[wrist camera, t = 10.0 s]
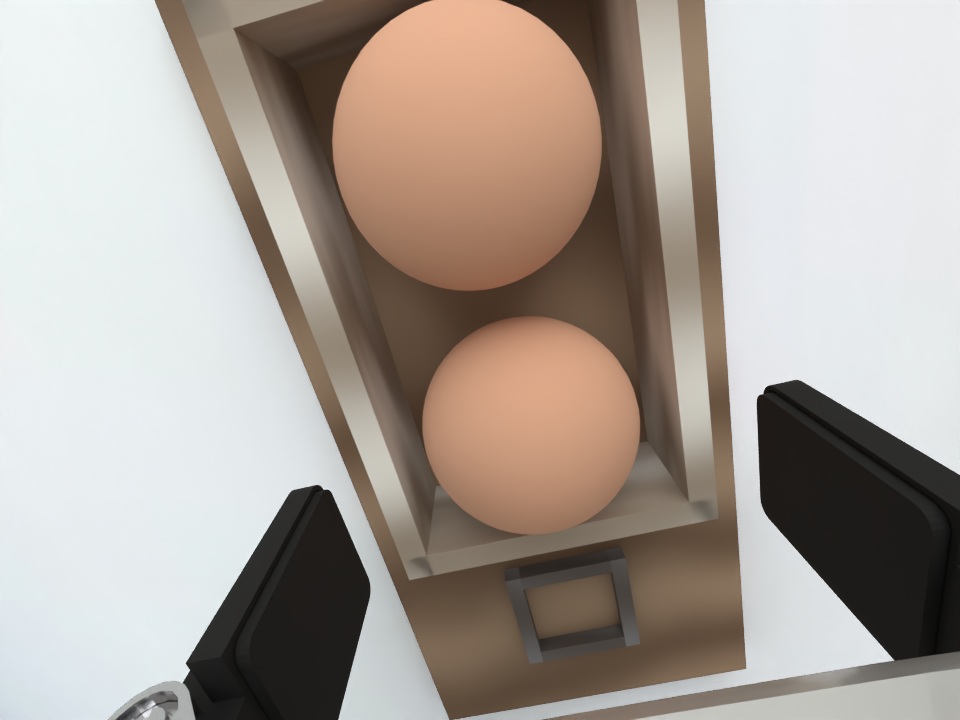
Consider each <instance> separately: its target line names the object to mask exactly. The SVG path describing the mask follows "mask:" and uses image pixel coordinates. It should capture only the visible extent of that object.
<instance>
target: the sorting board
mask: <svg viewBox="0 0 960 720" xmlns="http://www.w3.org/2000/svg"><path fill="white" fill-rule="evenodd" d="M428 1H432V0H155V2H156V5H157V7H158V10H159V12H160V15H161V17H162V20H163V22H164V24H165V27H166V29H167V32H168V34H169V37H170V39H171V41H172V44H173V46H174V49H175V51H176V54H177V56H178V59H179V61H180V63H181V66H182V68H183V71H184V73H185V76H186V78H187V81H188V83H189V85H190V88H191V90H192V93H193V95H194V98H195V100H196V102H197V105H198V107H199V110H200V112H201V115H202V117H203V120H204V122H205V124H206V127H207V129H208V132H209V134H210V137H211V139H212V141H213V144H214V146H215V149H216V151H217V154H218V156H219V159H220V161H221V163H222V166H223V168H224V171H225V173H226V176H227V178H228V181H229V183H230V185H231V188H232V190H233V193H234V195H235V198H236V200H237V202H238V205H239V207H240V210H241V212H242V215H243V217H244V220H245V222H246V224H247V227H248V229H249V232H250V234H251V237H252V239H253V241H254V244H255V246H256V249H257V251H258V254H259V256H260V259H261V261H262V263H263V266H264V268H265V271H266V273H267V276H268V278H269V281H270V283H271V285H272V288H273V290H274V293H275V295H276V298H277V300H278V302H279V305H280V307H281V310H282V312H283V315H284V317H285V320H286V322H287V324H288V327H289V329H290V332H291V334H292V337H293V339H294V342H295V344H296V346H297V349H298V351H299V354H300V356H301V359H302V361H303V363H304V366H305V368H306V371H307V373H308V376H309V378H310V381H311V383H312V385H313V388H314V390H315V393H316V395H317V398H318V400H319V402H320V405H321V407H322V410H323V412H324V415H325V417H326V420H327V422H328V424H329V427H330V429H331V432H332V434H333V437H334V439H335V442H336V444H337V446H338V449H339V451H340V454H341V456H342V459H343V461H344V463H345V466H346V468H347V471H348V473H349V476H350V478H351V481H352V483H353V485H354V488H355V490H356V493H357V495H358V498H359V500H360V503H361V505H362V507H363V510H364V512H365V515H366V517H367V520H368V522H369V524H370V527H371V529H372V532H373V534H374V537H375V539H376V542H377V544H378V546H379V549H380V551H381V554H382V556H383V559H384V561H385V563H386V566H387V568H388V571H389V573H390V576H391V578H392V581H393V583H394V585H395V588H396V590H397V593H398V595H399V598H400V600H401V603H402V605H403V607H404V610H405V612H406V615H407V617H408V620H409V622H410V624H411V627H412V629H413V632H414V634H415V637H416V639H417V642H418V644H419V646H420V649H421V651H422V654H423V656H424V659H425V661H426V664H427V666H428V668H429V671H430V673H431V676H432V678H433V681H434V683H435V685H436V688H437V690H438V693H439V695H440V698H441V700H442V703H443V705H444V707H445V710H446V712H447V715H448V717H449V720H454V719H460V718H465V717H471V716H477V715H483V714H488V713H494V712H500V711H506V710H511V709H517V708H523V707H529V706H534V705H540V704H546V703H552V702H557V701H563V700H569V699H575V698H580V697H586V696H592V695H598V694H603V693H609V692H615V691H621V690H626V689H632V688H638V687H644V686H649V685H655V684H661V683H667V682H672V681H678V680H684V679H690V678H695V677H701V676H707V675H713V674H718V673H724V672H730V671H736V670H741V669H746V658H745V642H744V626H743V610H742V594H741V578H740V562H739V546H738V530H737V514H736V498H735V482H734V466H733V450H732V433H731V417H730V401H729V385H728V369H727V353H726V337H725V321H724V305H723V289H722V273H721V257H720V241H719V225H718V209H717V193H716V177H715V161H714V145H713V129H712V113H711V97H710V81H709V65H708V49H707V33H706V17H705V1H704V0H500V1H504V2H506V3H509V4H511V5H514V6H516V7H519V8H521V9H523V10H525V11H526V12H528V13H530V14H531V15H533V16H535V17H537V18H538V19H539V20H541V21H542V22H543V23H544V24H546V25H547V26H548V27H549V28H551V29H552V30H553V31H554V32H555V33H556V34H557V35H558V36H559V37H560V38H561V39H562V40H563V41H564V43H565V44H566V45H567V46H568V47H569V49H570V50H571V51H572V53H573V54H574V56H575V57H576V58H577V60H578V61H579V63H580V65H581V67H582V69H583V71H584V73H585V74H586V76H587V78H588V81H589V83H590V86H591V89H592V91H593V94H594V97H595V100H596V104H597V109H598V113H599V117H600V126H601V135H602V156H601V164H600V171H599V177H598V181H597V185H596V189H595V193H594V196H593V198H592V201H591V203H590V206H589V209H588V211H587V213H586V215H585V217H584V218H583V220H582V222H581V224H580V226H579V227H578V229H577V230H576V232H575V233H574V235H573V236H572V238H571V239H570V240H569V242H568V243H567V244H566V245H565V246H564V247H563V248H562V249H561V251H560V252H559V253H558V254H557V255H555V256H554V257H553V258H552V259H551V260H550V261H549V262H547V263H546V264H545V265H544V266H542V267H541V268H539V269H538V270H536V271H535V272H533V273H532V274H530V275H528V276H526V277H524V278H522V279H520V280H518V281H515V282H513V283H510V284H507V285H504V286H501V287H496V288H492V289H487V290H476V291H462V290H451V289H445V288H440V287H436V286H433V285H430V284H427V283H424V282H421V281H419V280H417V279H415V278H413V277H410V276H408V275H407V274H405V273H404V272H402V271H400V270H399V269H397V268H396V267H394V266H393V265H392V264H390V263H389V262H388V261H387V260H385V259H384V258H383V257H382V256H381V255H380V254H379V253H378V252H377V251H376V250H375V249H374V248H373V247H372V246H371V245H370V244H369V243H368V241H367V240H366V239H365V237H364V236H363V235H362V233H361V232H360V231H359V229H358V228H357V226H356V224H355V223H354V221H353V219H352V218H351V216H350V214H349V212H348V210H347V207H346V205H345V203H344V200H343V198H342V195H341V192H340V189H339V185H338V182H337V178H336V172H335V167H334V161H333V145H332V138H333V122H334V117H335V111H336V106H337V101H338V98H339V95H340V92H341V89H342V86H343V83H344V81H345V79H346V77H347V74H348V72H349V70H350V68H351V66H352V64H353V63H354V61H355V60H356V58H357V57H358V55H359V53H360V52H361V50H362V49H363V48H364V46H365V45H366V44H367V43H368V42H369V41H370V40H371V38H372V37H373V36H374V35H375V34H376V33H377V32H378V31H379V30H380V29H382V28H383V27H384V26H385V25H386V24H387V23H389V22H390V21H391V20H392V19H394V18H396V17H397V16H399V15H400V14H402V13H404V12H405V11H407V10H409V9H411V8H413V7H416V6H418V5H420V4H423V3H425V2H428ZM521 316H539V317H546V318H552V319H556V320H560V321H563V322H566V323H569V324H572V325H574V326H576V327H578V328H580V329H582V330H584V331H586V332H587V333H589V334H590V335H592V336H593V337H595V338H596V339H597V340H598V341H599V342H601V343H602V344H603V345H604V346H605V347H606V348H607V349H608V350H610V352H611V353H612V354H613V355H614V356H615V357H616V359H617V360H618V361H619V363H620V364H621V366H622V368H623V369H624V371H625V372H626V374H627V376H628V377H629V380H630V382H631V384H632V387H633V389H634V393H635V396H636V400H637V404H638V408H639V416H640V439H639V446H638V451H637V455H636V458H635V461H634V464H633V467H632V470H631V472H630V474H629V476H628V478H627V480H626V482H625V483H624V485H623V486H622V488H621V489H620V490H619V492H618V493H617V495H616V496H615V497H614V498H613V499H612V500H611V502H610V503H609V504H608V505H607V506H606V507H604V508H603V509H602V510H601V511H600V512H598V513H597V514H596V515H594V516H593V517H591V518H590V519H588V520H586V521H584V522H582V523H581V524H578V525H576V526H574V527H571V528H569V529H566V530H562V531H559V532H554V533H549V534H538V535H531V534H517V533H511V532H507V531H503V530H499V529H496V528H494V527H491V526H489V525H487V524H485V523H483V522H481V521H479V520H477V519H476V518H474V517H473V516H471V515H470V514H468V513H467V512H465V511H464V510H463V509H462V508H461V507H459V506H458V505H457V504H456V503H455V502H454V501H453V500H452V498H451V497H450V496H449V495H448V494H447V493H446V491H445V490H444V489H443V488H442V486H441V484H440V483H439V481H438V480H437V478H436V476H435V474H434V472H433V470H432V467H431V465H430V463H429V460H428V457H427V454H426V450H425V445H424V439H423V431H422V418H423V409H424V402H425V397H426V394H427V391H428V388H429V385H430V383H431V380H432V378H433V376H434V374H435V372H436V370H437V368H438V367H439V365H440V364H441V362H442V361H443V359H444V358H445V357H446V356H447V355H448V353H449V352H450V351H451V350H452V349H453V348H454V347H455V346H456V345H457V344H458V343H459V342H460V341H462V340H463V339H464V338H465V337H467V336H468V335H470V334H471V333H473V332H474V331H476V330H477V329H480V328H482V327H484V326H486V325H488V324H490V323H493V322H496V321H499V320H503V319H507V318H512V317H521Z"/></svg>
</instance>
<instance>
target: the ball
mask: <svg viewBox="0 0 960 720" xmlns="http://www.w3.org/2000/svg"><path fill="white" fill-rule="evenodd" d="M332 145H333V161H334V167H335V172H336V178H337V182H338V185H339V189H340V192H341V195H342V198H343V200H344V203H345V205H346V207H347V210H348V212H349V214H350V216H351V218H352V219H353V221H354V223H355V224H356V226H357V228H358V229H359V231H360V232H361V233H362V235H363V236H364V237H365V239H366V240H367V241H368V243H369V244H370V245H371V246H372V247H373V248H374V249H375V250H376V251H377V252H378V253H379V254H380V255H381V256H382V257H383V258H384V259H385V260H387V261H388V262H389V263H390V264H392V265H393V266H394V267H396V268H397V269H399V270H400V271H402V272H404V273H405V274H407V275H408V276H410V277H413V278H415V279H417V280H419V281H421V282H424V283H427V284H430V285H433V286H436V287H440V288H445V289H451V290H462V291H476V290H487V289H492V288H496V287H501V286H504V285H507V284H510V283H513V282H515V281H518V280H520V279H522V278H524V277H526V276H528V275H530V274H532V273H533V272H535V271H536V270H538V269H539V268H541V267H542V266H544V265H545V264H546V263H547V262H549V261H550V260H551V259H552V258H553V257H554V256H555V255H557V254H558V253H559V252H560V251H561V249H562V248H563V247H564V246H565V245H566V244H567V243H568V242H569V240H570V239H571V238H572V236H573V235H574V233H575V232H576V230H577V229H578V227H579V226H580V224H581V222H582V220H583V218H584V217H585V215H586V213H587V211H588V209H589V206H590V203H591V201H592V198H593V196H594V193H595V189H596V185H597V181H598V177H599V171H600V164H601V156H602V135H601V126H600V117H599V113H598V109H597V104H596V100H595V97H594V94H593V91H592V89H591V86H590V83H589V81H588V78H587V76H586V74H585V73H584V71H583V69H582V67H581V65H580V63H579V61H578V60H577V58H576V57H575V56H574V54H573V53H572V51H571V50H570V49H569V47H568V46H567V45H566V44H565V43H564V41H563V40H562V39H561V38H560V37H559V36H558V35H557V34H556V33H555V32H554V31H553V30H552V29H551V28H549V27H548V26H547V25H546V24H544V23H543V22H542V21H541V20H539V19H538V18H537V17H535V16H533V15H531V14H530V13H528V12H526V11H525V10H523V9H521V8H519V7H516V6H514V5H511V4H509V3H506V2H504V1H500V0H432V1H428V2H425V3H423V4H420V5H418V6H416V7H413V8H411V9H409V10H407V11H405V12H404V13H402V14H400V15H399V16H397V17H396V18H394V19H392V20H391V21H390V22H389V23H387V24H386V25H385V26H384V27H383V28H382V29H380V30H379V31H378V32H377V33H376V34H375V35H374V36H373V37H372V38H371V40H370V41H369V42H368V43H367V44H366V45H365V46H364V48H363V49H362V50H361V52H360V53H359V55H358V57H357V58H356V60H355V61H354V63H353V64H352V66H351V68H350V70H349V72H348V74H347V77H346V79H345V81H344V83H343V86H342V89H341V92H340V95H339V98H338V101H337V106H336V111H335V117H334V122H333V138H332Z"/></svg>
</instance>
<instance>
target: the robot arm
mask: <svg viewBox="0 0 960 720" xmlns="http://www.w3.org/2000/svg"><path fill="white" fill-rule="evenodd" d="M757 422H758V447H759V473H760V498H761V504H762V507H763V510H764V512H765V514H766V515H767V517H768V518H769V519H770V520H771V522H772V523H773V524H774V525H775V526H776V527H777V528H778V529H779V531H780V532H781V533H782V534H783V535H784V536H785V537H786V538H787V540H788V541H789V542H790V543H791V544H792V545H793V546H794V548H795V549H796V550H797V551H798V552H799V553H800V554H801V555H802V557H803V558H804V559H805V560H806V561H807V562H808V563H809V564H810V566H811V567H812V568H813V569H814V570H815V571H816V572H817V573H818V575H819V576H820V577H821V578H822V579H823V580H824V581H825V582H826V584H827V585H828V586H829V587H830V588H831V589H832V590H833V592H834V593H835V594H836V595H837V596H838V597H839V598H840V599H841V601H842V602H843V603H844V604H845V605H846V606H847V607H848V608H849V610H850V611H851V612H852V613H853V614H854V615H855V616H856V617H857V619H858V620H859V621H860V622H861V623H862V624H863V625H864V626H865V628H866V629H867V630H868V631H869V632H870V633H871V634H872V636H873V637H874V638H875V639H876V640H877V641H878V642H879V643H880V645H881V646H882V647H883V648H884V649H885V650H886V651H887V652H888V654H889V655H890V656H891V657H892V658H893V659H894V660H895V661H890V662H884V663H877V664H870V665H864V666H858V667H852V668H846V669H840V670H834V671H828V672H822V673H816V674H810V675H804V676H798V677H792V678H786V679H779V680H773V681H767V682H761V683H755V684H749V685H743V686H737V687H731V688H725V689H719V690H713V691H707V692H701V693H695V694H689V695H683V696H677V697H671V698H665V699H660V700H654V701H648V702H642V703H636V704H630V705H624V706H618V707H613V708H607V709H601V710H595V711H589V712H583V713H578V714H572V715H566V716H560V717H554V718H549V719H543V720H960V475H959V474H957V473H955V472H954V471H952V470H950V469H949V468H947V467H945V466H944V465H942V464H940V463H938V462H937V461H935V460H933V459H932V458H930V457H928V456H927V455H925V454H923V453H922V452H920V451H918V450H917V449H915V448H913V447H912V446H910V445H908V444H906V443H905V442H903V441H901V440H900V439H898V438H896V437H895V436H893V435H891V434H890V433H888V432H886V431H885V430H883V429H881V428H879V427H878V426H876V425H874V424H873V423H871V422H869V421H868V420H866V419H864V418H863V417H861V416H859V415H858V414H856V413H854V412H853V411H851V410H849V409H847V408H846V407H844V406H842V405H841V404H839V403H837V402H836V401H834V400H832V399H831V398H829V397H827V396H826V395H824V394H822V393H820V392H819V391H817V390H815V389H814V388H812V387H810V386H809V385H807V384H805V383H804V382H802V381H799V380H793V381H789V382H784V383H780V384H775V385H770V386H767V387H766V388H765V390H764V394H762V395H759V396H758V398H757ZM369 598H370V582H369V578H368V576H367V574H366V571H365V569H364V567H363V564H362V562H361V560H360V557H359V555H358V553H357V550H356V548H355V546H354V543H353V541H352V539H351V537H350V534H349V532H348V530H347V527H346V525H345V523H344V520H343V518H342V516H341V513H340V511H339V509H338V507H337V504H336V502H335V500H334V497H333V495H332V493H331V492H330V491H329V490H323V488H322V487H321V486H319V485H315V486H310V487H306V488H301V489H297V490H293V491H291V492H290V494H289V495H288V497H287V498H286V500H285V502H284V503H283V505H282V507H281V508H280V510H279V512H278V513H277V515H276V516H275V518H274V520H273V521H272V523H271V525H270V526H269V528H268V530H267V531H266V533H265V534H264V536H263V538H262V539H261V541H260V543H259V544H258V546H257V548H256V549H255V551H254V552H253V554H252V556H251V557H250V559H249V561H248V562H247V564H246V566H245V567H244V569H243V571H242V572H241V574H240V575H239V577H238V579H237V580H236V582H235V584H234V585H233V587H232V589H231V590H230V592H229V593H228V595H227V597H226V598H225V600H224V602H223V603H222V605H221V607H220V608H219V610H218V611H217V613H216V615H215V616H214V618H213V620H212V621H211V623H210V625H209V626H208V628H207V630H206V631H205V633H204V634H203V636H202V638H201V639H200V641H199V643H198V644H197V646H196V648H195V649H194V651H193V652H192V654H191V656H190V657H189V659H188V661H187V662H186V664H187V666H188V667H189V669H190V672H189V673H188V675H187V677H186V678H185V680H184V682H183V683H180V682H178V681H170V682H163V683H160V684H158V685H155V686H152V687H150V688H148V689H146V690H145V691H143V692H141V693H140V694H138V695H136V696H135V697H133V698H132V699H131V700H129V701H128V702H127V703H125V704H124V705H123V706H122V707H120V708H119V709H118V710H117V711H116V712H115V713H114V714H113V715H112V716H111V717H110V718H109V719H108V720H338V718H339V714H340V710H341V706H342V703H343V699H344V695H345V691H346V687H347V683H348V679H349V676H350V672H351V668H352V664H353V660H354V656H355V652H356V649H357V645H358V641H359V637H360V633H361V629H362V625H363V622H364V618H365V614H366V610H367V606H368V602H369Z"/></svg>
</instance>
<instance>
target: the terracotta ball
mask: <svg viewBox="0 0 960 720" xmlns="http://www.w3.org/2000/svg"><path fill="white" fill-rule="evenodd" d="M422 431H423V439H424V445H425V450H426V454H427V457H428V460H429V463H430V465H431V467H432V470H433V472H434V474H435V476H436V478H437V480H438V481H439V483H440V484H441V486H442V488H443V489H444V490H445V491H446V493H447V494H448V495H449V496H450V497H451V498H452V500H453V501H454V502H455V503H456V504H457V505H458V506H459V507H461V508H462V509H463V510H464V511H465V512H467V513H468V514H470V515H471V516H473V517H474V518H476V519H477V520H479V521H481V522H483V523H485V524H487V525H489V526H491V527H494V528H496V529H499V530H503V531H507V532H511V533H517V534H531V535H538V534H549V533H554V532H559V531H562V530H566V529H569V528H571V527H574V526H576V525H578V524H581V523H582V522H584V521H586V520H588V519H590V518H591V517H593V516H594V515H596V514H597V513H598V512H600V511H601V510H602V509H603V508H604V507H606V506H607V505H608V504H609V503H610V502H611V500H612V499H613V498H614V497H615V496H616V495H617V493H618V492H619V490H620V489H621V488H622V486H623V485H624V483H625V482H626V480H627V478H628V476H629V474H630V472H631V470H632V467H633V464H634V461H635V458H636V455H637V451H638V446H639V439H640V416H639V408H638V404H637V400H636V396H635V393H634V389H633V387H632V384H631V382H630V380H629V377H628V376H627V374H626V372H625V371H624V369H623V368H622V366H621V364H620V363H619V361H618V360H617V359H616V357H615V356H614V355H613V354H612V353H611V352H610V350H608V349H607V348H606V347H605V346H604V345H603V344H602V343H601V342H599V341H598V340H597V339H596V338H595V337H593V336H592V335H590V334H589V333H587V332H586V331H584V330H582V329H580V328H578V327H576V326H574V325H572V324H569V323H566V322H563V321H560V320H556V319H552V318H546V317H539V316H521V317H512V318H507V319H503V320H499V321H496V322H493V323H490V324H488V325H486V326H484V327H482V328H480V329H477V330H476V331H474V332H473V333H471V334H470V335H468V336H467V337H465V338H464V339H463V340H462V341H460V342H459V343H458V344H457V345H456V346H455V347H454V348H453V349H452V350H451V351H450V352H449V353H448V355H447V356H446V357H445V358H444V359H443V361H442V362H441V364H440V365H439V367H438V368H437V370H436V372H435V374H434V376H433V378H432V380H431V383H430V385H429V388H428V391H427V394H426V397H425V402H424V409H423V418H422Z"/></svg>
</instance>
